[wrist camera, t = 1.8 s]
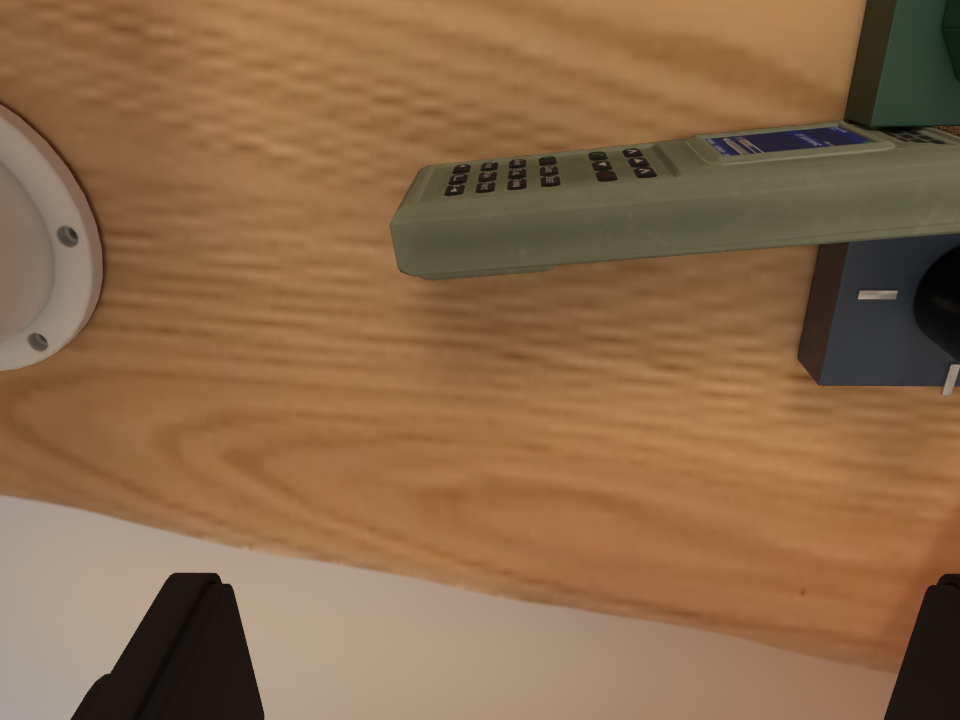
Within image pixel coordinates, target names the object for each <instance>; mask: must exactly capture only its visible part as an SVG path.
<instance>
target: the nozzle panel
mask: <svg viewBox="0 0 960 720" xmlns="http://www.w3.org/2000/svg"><path fill="white" fill-rule="evenodd" d="M958 246H960V233H953V234H940V235H928V236H916V237H903V238H891V239H878V240H866V241H854V242H841V243H829V244H820V248H819V253H818V258H817V263H816V268H815V273H814V278H813V283H812V288H811V293H810V298H809V303H808V309H807V314H806V319H805V324H804V329H803V334H802V339H801V344H800V349H799V354H798V360H799V361H800V362H801V364H802V365H803V366H804V368H805V369H806V370H807V371H808V373H809V374H810V375H811V376H812V378H813V379H814V380H815V382H816V383H817V384H818V385H826V386H942V389H941V392H940V394H941V395H942V396H951V394H952V391H953V388H954V386H960V363H959V362H958V361H957V360H955V359H954V358H953V357H952V356H950V355H949V354H948V353H947V352H945V351H944V350H943V349H942V348H941V347H939V346H938V345H937V344H936V343H934V342H933V341H932V340H931V339H930V338H928V337H927V336H926V335H925V334H924V333H923V331H922V330H921V329H920V327H919V325H918V323H917V320H916V316H915V309H914V307H915V298H916V293H917V290H918V287H919V285H920V283H921V281H922V279H923V278H924V276H925V275H926V273H927V272H928V271H929V269H930V268H931V267H932V266H933V265H934V264H935V263H936V262H937V261H938V260H939V259H940V258H941V257H943V256H944V255H945V254H947V253H948V252H950V251H951V250H953V249H955V248H957V247H958Z"/></svg>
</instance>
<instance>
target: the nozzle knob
mask: <svg viewBox="0 0 960 720" xmlns="http://www.w3.org/2000/svg"><path fill="white" fill-rule="evenodd" d="M914 309H915V316H916V320H917V323H918V325H919V327H920V329H921V330H922V331H923V333H924V334H925V335H926V336H927V337H928V338H930V339H931V340H932V341H933V342H934V343H936V344H937V345H938V346H939V347H941V348H942V349H943V350H944V351H945V352H947V353H948V354H949V355H950V356H952V357H953V358H954V359H955V360H957V361H958V362H959V363H960V246H958V247H957V248H955V249H953V250H951V251H950V252H948V253H947V254H945V255H944V256H943V257H941V258H940V259H939V260H938V261H937V262H936V263H935V264H934V265H933V266H932V267H931V268H930V269H929V271H928V272H927V273H926V275H925V276H924V278H923V279H922V281H921V283H920V285H919V287H918V290H917V293H916V298H915V307H914Z"/></svg>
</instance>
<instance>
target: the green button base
mask: <svg viewBox="0 0 960 720" xmlns="http://www.w3.org/2000/svg"><path fill="white" fill-rule="evenodd" d="M845 118H846V119H849V120H852V121H855V122H858V123H861V124H863V125H866V126H869V127H908V126H960V0H868V3H867V8H866V13H865V18H864V23H863V28H862V33H861V38H860V44H859V49H858V54H857V59H856V64H855V69H854V74H853V79H852V84H851V89H850V94H849V99H848V104H847V109H846V114H845Z"/></svg>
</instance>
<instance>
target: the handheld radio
mask: <svg viewBox="0 0 960 720" xmlns="http://www.w3.org/2000/svg"><path fill="white" fill-rule="evenodd" d="M390 230H391V235H392V240H393V245H394V250H395V255H396V260H397V265H398V268H399V270H400V272H402V273H405V274H407V275H411V276H420V277H421V278H422V279H424V280H443V279H456V278H469V277H481V276H494V275H506V274H519V273H531V272H544V271H547V270H550V269H553V267H554V266H556V265H568V264H581V263H593V262H606V261H618V260H630V259H643V258H655V257H668V256H680V255H692V254H705V253H717V252H730V251H742V250H754V249H767V248H779V247H792V246H804V245H816V244H829V243H841V242H854V241H866V240H878V239H891V238H903V237H916V236H928V235H940V234H953V233H960V137H959V136H956V135H953V134H950V133H947V132H945V131H942V130H939V129H936V128H933V127H930V126H908V127H869V126H866V125H863V124H861V123H857V124H848V123H845V122H844V121H843V120H841V121H837V122H828V123H817V124H807V125H797V126H787V127H776V128H766V129H756V130H745V131H735V132H725V133H714V134H704V135H696V134H694V135H693V136H692V137H691V138H690V139H681V140H670V141H661V142H653V143H644V144H634V145H624V146H614V147H604V148H595V149H585V150H575V151H565V152H556V153H546V154H536V155H526V156H517V157H507V158H497V159H487V160H477V161H468V162H458V163H448V164H439V165H429V166H426V167H424V168H422V169H421V170H420V171H419V172H418V173H417V175H416V177H415V179H414V181H413V182H412V184H411V186H410V188H409V190H408V191H407V193H406V195H405V197H404V199H403V200H402V202H401V204H400V206H399V208H398V209H397V211H396V213H395V215H394V217H393V219H392V221H391V223H390Z"/></svg>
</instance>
